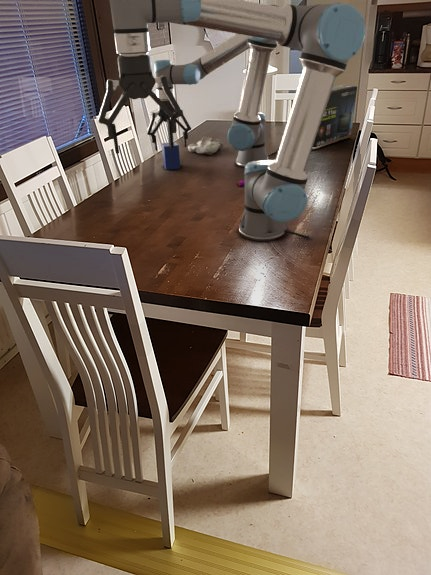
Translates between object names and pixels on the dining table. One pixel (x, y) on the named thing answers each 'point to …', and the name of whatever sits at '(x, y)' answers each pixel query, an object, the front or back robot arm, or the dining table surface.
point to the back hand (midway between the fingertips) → (170, 148)
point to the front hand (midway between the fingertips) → (144, 149)
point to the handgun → (242, 183)
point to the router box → (337, 115)
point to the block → (171, 156)
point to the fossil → (206, 146)
